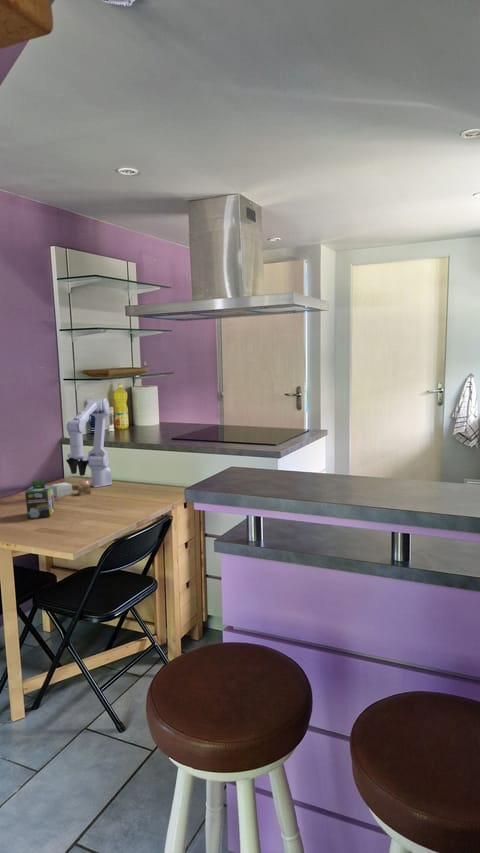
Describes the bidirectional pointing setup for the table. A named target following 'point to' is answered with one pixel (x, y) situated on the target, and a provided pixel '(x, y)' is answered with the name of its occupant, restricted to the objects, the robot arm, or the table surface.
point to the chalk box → (40, 500)
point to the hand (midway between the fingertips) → (78, 474)
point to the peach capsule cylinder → (84, 482)
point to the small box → (62, 489)
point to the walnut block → (84, 490)
